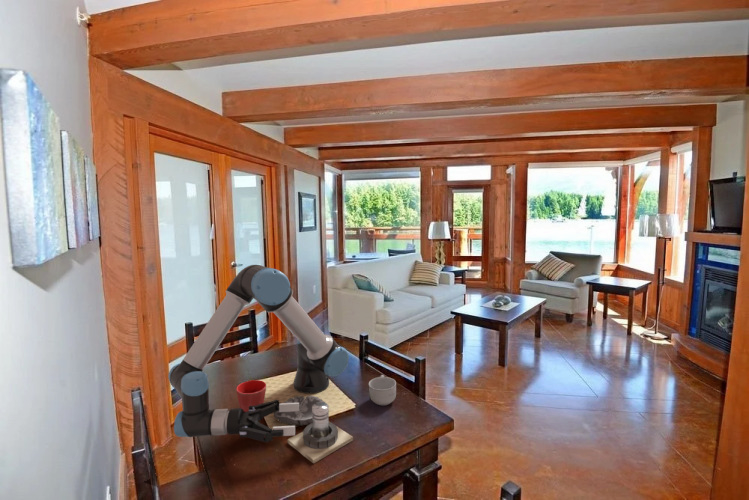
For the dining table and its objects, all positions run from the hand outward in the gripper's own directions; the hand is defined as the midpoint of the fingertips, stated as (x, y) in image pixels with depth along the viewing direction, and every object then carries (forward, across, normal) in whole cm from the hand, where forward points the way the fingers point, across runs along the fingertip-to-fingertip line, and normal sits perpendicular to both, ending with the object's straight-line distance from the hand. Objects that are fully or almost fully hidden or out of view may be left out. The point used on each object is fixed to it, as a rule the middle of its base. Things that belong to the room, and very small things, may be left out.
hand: (297, 417), depth 120 cm
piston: (+7, 0, -7) cm, 10 cm away
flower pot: (-19, -21, -9) cm, 30 cm away
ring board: (+7, 0, -9) cm, 11 cm away
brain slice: (0, -17, -9) cm, 20 cm away
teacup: (+31, -25, -9) cm, 41 cm away
